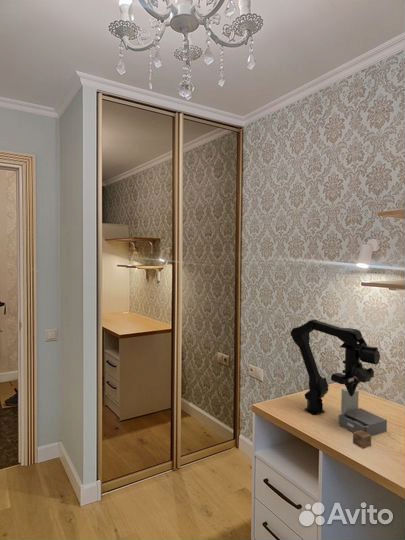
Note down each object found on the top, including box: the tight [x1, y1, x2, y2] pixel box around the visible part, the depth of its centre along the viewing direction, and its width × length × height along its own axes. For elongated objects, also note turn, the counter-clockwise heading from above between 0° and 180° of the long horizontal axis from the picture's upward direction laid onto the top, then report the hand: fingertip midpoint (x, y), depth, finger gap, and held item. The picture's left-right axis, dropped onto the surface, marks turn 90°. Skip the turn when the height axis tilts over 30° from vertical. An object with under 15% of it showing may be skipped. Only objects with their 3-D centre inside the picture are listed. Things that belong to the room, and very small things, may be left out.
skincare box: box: [340, 388, 359, 414], centre depth 165 cm, size 6×4×12 cm
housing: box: [339, 407, 388, 437], centre depth 155 cm, size 13×12×5 cm
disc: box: [353, 418, 367, 426], centre depth 154 cm, size 7×7×2 cm
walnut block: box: [352, 430, 372, 449], centre depth 141 cm, size 4×4×4 cm
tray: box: [338, 414, 366, 433], centre depth 154 cm, size 12×12×4 cm
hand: (351, 395), depth 158 cm, fingers closed
